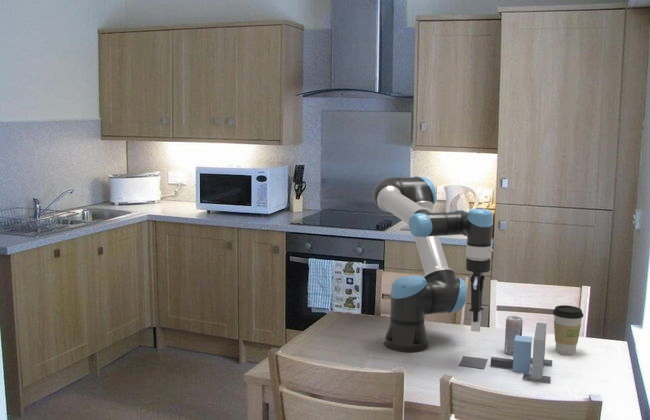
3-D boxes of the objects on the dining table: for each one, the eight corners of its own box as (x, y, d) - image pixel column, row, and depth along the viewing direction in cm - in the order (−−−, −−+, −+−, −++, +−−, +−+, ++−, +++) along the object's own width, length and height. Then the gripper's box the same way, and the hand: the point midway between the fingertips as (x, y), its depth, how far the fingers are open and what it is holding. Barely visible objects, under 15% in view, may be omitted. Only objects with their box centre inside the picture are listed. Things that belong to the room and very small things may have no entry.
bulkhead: (522, 379, 217) (525, 338, 215) (526, 360, 234) (528, 321, 232) (550, 383, 214) (552, 341, 213) (552, 363, 231) (554, 324, 229)
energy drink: (522, 351, 242) (524, 317, 240) (519, 356, 237) (521, 321, 235) (505, 349, 244) (507, 315, 242) (502, 353, 239) (504, 319, 238)
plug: (489, 368, 226) (491, 337, 225) (491, 362, 231) (493, 332, 230) (529, 373, 222) (530, 342, 221) (530, 367, 228) (532, 336, 226)
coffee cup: (582, 357, 237) (586, 314, 234) (551, 355, 239) (554, 311, 236) (578, 348, 246) (581, 305, 244) (548, 345, 248) (551, 303, 246)
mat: (458, 365, 228) (458, 365, 228) (462, 356, 236) (462, 355, 236) (484, 369, 225) (484, 368, 225) (487, 359, 234) (487, 358, 234)
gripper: (488, 263, 218) (484, 338, 221) (492, 255, 230) (489, 326, 234) (463, 261, 221) (460, 335, 224) (469, 253, 233) (466, 323, 236)
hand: (475, 330), depth 229 cm, fingers closed
